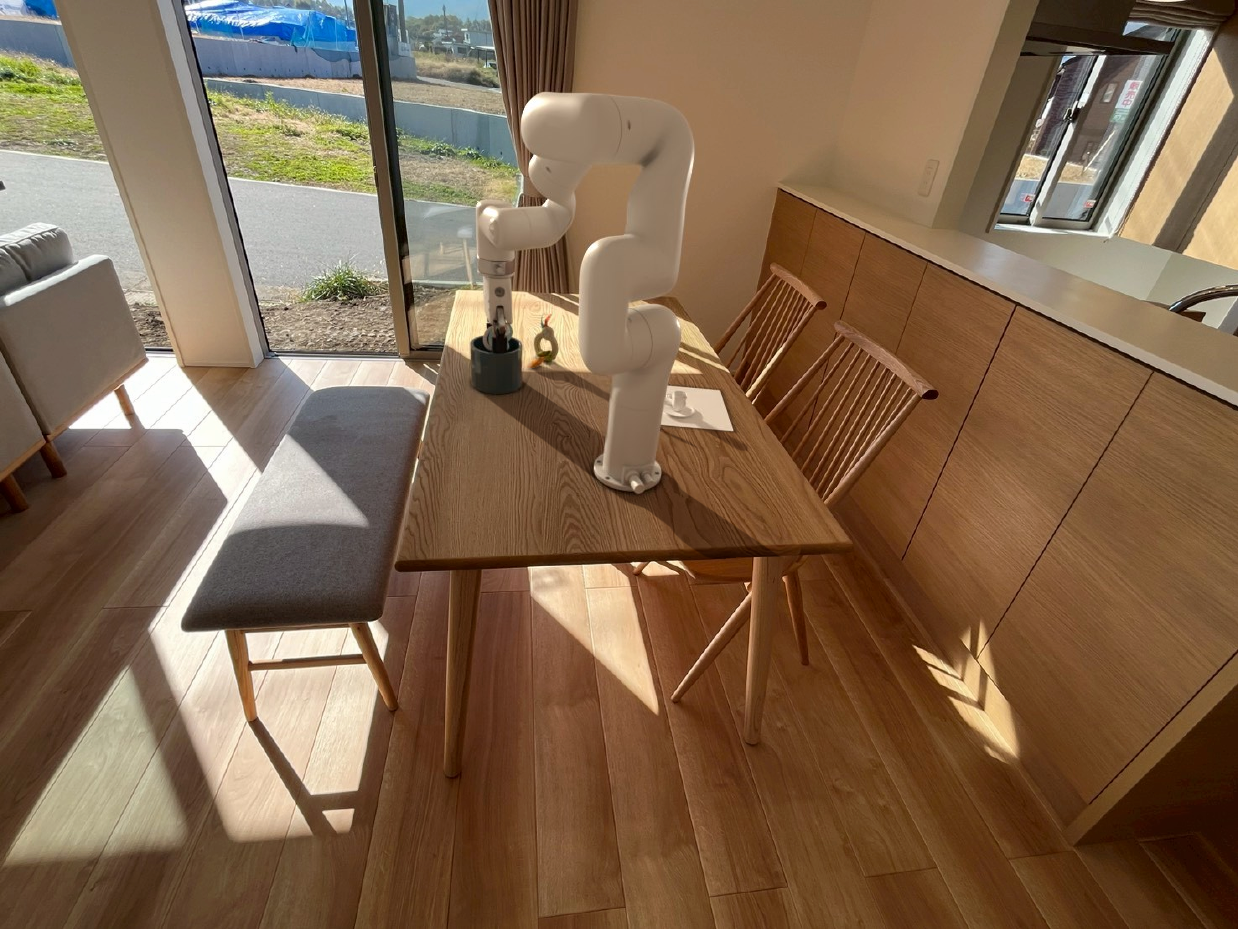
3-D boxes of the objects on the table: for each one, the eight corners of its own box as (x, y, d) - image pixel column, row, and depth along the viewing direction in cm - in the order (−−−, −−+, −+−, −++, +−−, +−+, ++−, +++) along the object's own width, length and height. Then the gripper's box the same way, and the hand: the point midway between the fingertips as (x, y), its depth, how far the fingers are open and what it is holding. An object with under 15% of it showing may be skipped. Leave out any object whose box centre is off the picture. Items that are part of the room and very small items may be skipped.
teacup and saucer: (658, 398, 138) (660, 382, 136) (692, 401, 138) (695, 386, 136) (660, 416, 131) (663, 400, 128) (696, 420, 131) (699, 403, 129)
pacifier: (479, 350, 130) (506, 358, 131) (480, 335, 124) (508, 343, 125) (487, 322, 132) (514, 330, 134) (489, 306, 127) (517, 315, 128)
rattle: (516, 359, 148) (517, 314, 142) (543, 353, 153) (545, 309, 147) (533, 370, 144) (534, 324, 138) (560, 364, 149) (563, 319, 143)
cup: (525, 392, 134) (526, 353, 128) (474, 395, 130) (473, 354, 125) (516, 371, 142) (517, 333, 137) (469, 373, 139) (467, 334, 134)
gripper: (522, 278, 116) (520, 362, 126) (507, 254, 130) (507, 332, 139) (483, 278, 114) (484, 363, 123) (472, 254, 127) (474, 332, 137)
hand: (496, 346), depth 131 cm, fingers closed on pacifier, 7 cm apart
